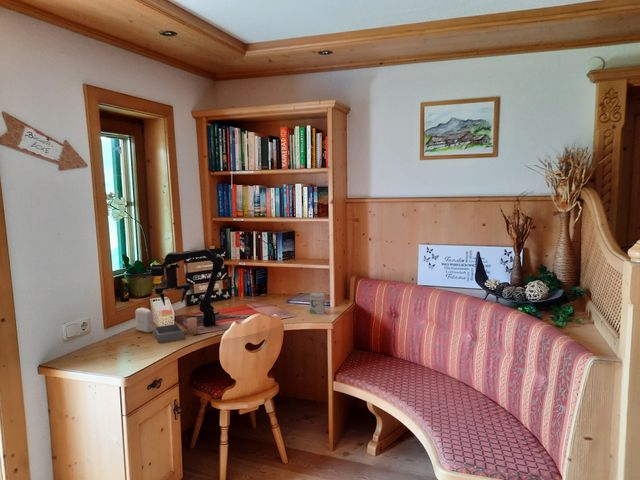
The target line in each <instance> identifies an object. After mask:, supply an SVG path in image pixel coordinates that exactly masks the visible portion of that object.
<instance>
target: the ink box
mask: <svg viewBox="0 0 640 480" xmlns="http://www.w3.org/2000/svg"><path fill="white" fill-rule="evenodd" d="M309 313H310V314H311V315H312V314H315V315H324V314H325V313H326V294H325V293H320V292H311V293H309Z"/></svg>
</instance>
